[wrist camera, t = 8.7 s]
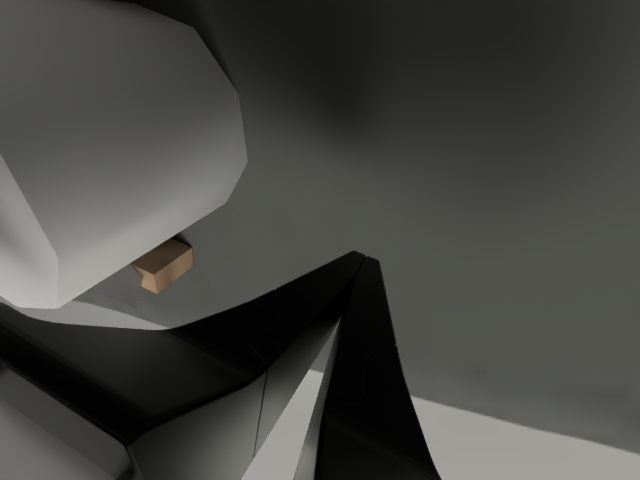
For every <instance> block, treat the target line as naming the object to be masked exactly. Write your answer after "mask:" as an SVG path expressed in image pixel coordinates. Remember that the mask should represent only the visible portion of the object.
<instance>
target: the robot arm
mask: <svg viewBox="0 0 640 480" xmlns="http://www.w3.org/2000/svg"><path fill="white" fill-rule="evenodd" d="M339 320H340V321H339ZM338 322H339V324H338V327H337V331H336V334H335V338H334V341H333V344H332V348H331V351H330V355H329V358H328V362H327V365H326V368H325V372H324V375H323V379H322V382H321V386H320V389H319V392H318V396H317V399H316V403H315V406H314V409H313V413H312V416H311V420H310V423H309V427H308V430H307V434H306V437H305V440H304V444H303V447H302V451H301V454H300V457H299V461H298V464H297V468H296V471H295V475H294V478H293V480H441V478H440V476H439V474H438V472H437V470H436V468H435V465H434V463H433V461H432V458H431V455H430V452H429V450H428V447H427V444H426V441H425V438H424V435H423V432H422V429H421V426H420V423H419V420H418V418H417V415H416V412H415V409H414V406H413V403H412V400H411V397H410V394H409V391H408V388H407V384H406V381H405V378H404V374H403V370H402V366H401V362H400V358H399V353H398V348H397V346H396V339H395V334H394V329H393V325H392V320H391V315H390V310H389V305H388V300H387V295H386V291H385V286H384V281H383V276H382V271H381V266H380V262H379V260H376V259H374V258H371V257H369V256H367V257H366V258H365V255H364V254H362V253H359V252H357V251H351V252H349V253H347V254H345V255H343V256H341V257H339V258H337V259H335V260H333V261H331V262H329V263H327V264H325V265H323V266H321V267H319V268H317V269H315V270H313V271H311V272H309V273H306V274H304V275H302V276H300V277H298V278H296V279H294V280H292V281H290V282H288V283H286V284H284V285H282V286H280V287H278V288H276V290H275V289H274V290H272V291H270V292H268V293H266V294H264V295H261V296H259V297H257V298H255V299H253V300H250V301H248V302H246V303H243V304H240V305H238V306H235V307H233V308H230V309H227V310H225V311H222V312H219V313H216V314H213V315H211V316H208V317H205V318H202V319H200V320H197V321H194V322H191V323H188V324H185V325H182V326H179V327H175V328H171V329H165V330H143V329H129V328H116V327H115V328H114V327H102V326H88V325H75V324H63V323H53V322H49V321H43V320H39V319H35V318H32V317H29V316H27V315H25V314H22V313H20V312H19V311H17V310H15V309H14V308H12V307H10V306H8V305H6V304H4V303H1V302H0V480H241V478H242V477H243V475H244V473H245V472H246V470H247V468H248V467H249V465H250V464H251V462H252V460H253V458H254V457H255V456H256V454H257V452H258V451H259V449H260V448H261V446H262V444H263V443H264V441H265V440H266V438H267V436H268V435H269V433H270V431H271V430H272V428H273V427H274V425H275V423H276V422H277V420H278V419H279V417H280V415H281V414H282V412H283V411H284V409H285V407H286V406H287V404H288V402H289V401H290V399H291V398H292V396H293V394H294V393H295V391H296V389H297V388H298V386H299V385H300V383H301V382H302V380H303V378H304V377H305V375H306V374H307V372H308V370H309V369H310V367H311V365H312V364H313V362H314V361H315V359H316V357H317V356H318V354H319V353H320V351H321V349H322V348H323V346H324V345H325V343H326V341H327V340H328V338H329V336H330V335H331V333H332V332H333V330H334V328H335V327H336V325H337V323H338Z"/></svg>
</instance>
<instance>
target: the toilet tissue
mask: <svg viewBox="0 0 640 480" xmlns="http://www.w3.org/2000/svg"><path fill="white" fill-rule="evenodd" d="M247 163H248V160H247V152H246V145H245V137H244V130H243V123H242V115H241V108H240V100H239V94H238V92H237V91H236V89H235V88H234V86H233V85H232V83H231V82H230V80H229V79H228V77H227V76H226V75H225V73H224V72H223V70H222V69H221V67H220V66H219V64H218V63H217V61H216V60H215V58H214V57H213V55H212V54H211V52H210V51H209V49H208V48H207V46H206V45H205V43H204V42H203V40H202V39H201V37H200V36H199V34H198V33H197V32H196V30H195V29H194V28H193V27H191V26H188V25H186V24H183V23H181V22H179V21H176V20H174V19H171V18H169V17H166V16H164V15H162V14H159V13H157V12H154V11H152V10H149V9H147V8H145V7H142V6H140V5H137V4H132V3H125V2H118V1H111V0H0V296H2V297H3V298H5V299H6V300H8V301H9V302H11V303H12V304H14V305H16V306H17V307H23V308H46V309H58V308H59V307H61V306H62V305H64V304H66V303H67V302H69V301H70V300H72V299H74V298H75V297H77V296H78V295H80V294H82V293H83V292H85V291H86V290H88V289H90V288H91V289H94V290H96V291H98V292H101V293H103V294H105V295H108V296H110V297H113V298H115V299H117V300H120V301H122V302H125V303H127V304H129V305H132V306H134V307H136V304H137V300H138V296H139V292H140V288H141V284H142V280H143V278H142V277H141V276H140V274H139V273H138V272H137V271H136V270H135V269H134V268H133V267H132V266H131V264H130V263H131V262H133V261H134V260H136V259H137V258H139V257H141V256H142V255H144V254H145V253H147V252H149V251H150V250H152V249H153V248H155V247H156V246H158V245H160V244H161V243H163V242H164V241H166V240H168V239H169V238H171V237H172V236H174V235H176V234H177V233H179V232H180V231H182V230H184V229H185V228H187V227H188V226H190V225H192V224H193V223H195V222H196V221H198V220H199V219H201V218H203V217H204V216H206V215H207V214H209V213H211V212H212V211H214V210H215V209H217V208H219V207H220V206H222V205H223V204H225V203H226V202H227V200H228V199H229V197H230V195H231V193H232V191H233V189H234V187H235V185H236V183H237V182H238V180H239V178H240V176H241V174H242V172H243V170H244V168H245V167H246V165H247Z"/></svg>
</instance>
